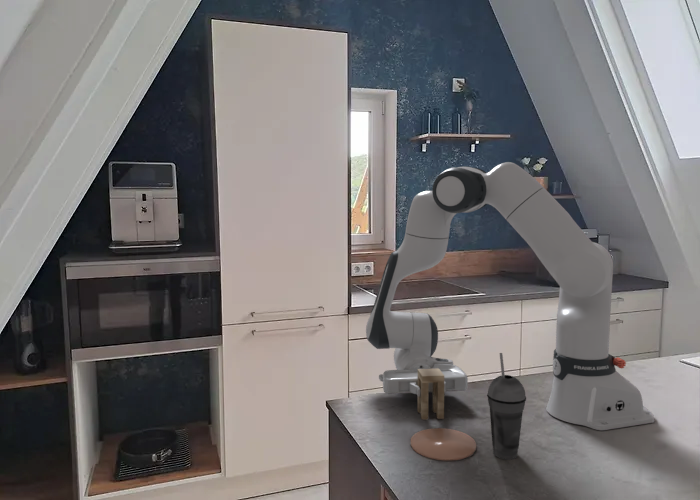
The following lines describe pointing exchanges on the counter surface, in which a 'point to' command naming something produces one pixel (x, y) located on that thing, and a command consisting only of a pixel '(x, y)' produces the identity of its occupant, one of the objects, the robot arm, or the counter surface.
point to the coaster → (443, 444)
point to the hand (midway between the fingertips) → (431, 392)
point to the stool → (438, 392)
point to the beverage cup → (506, 413)
